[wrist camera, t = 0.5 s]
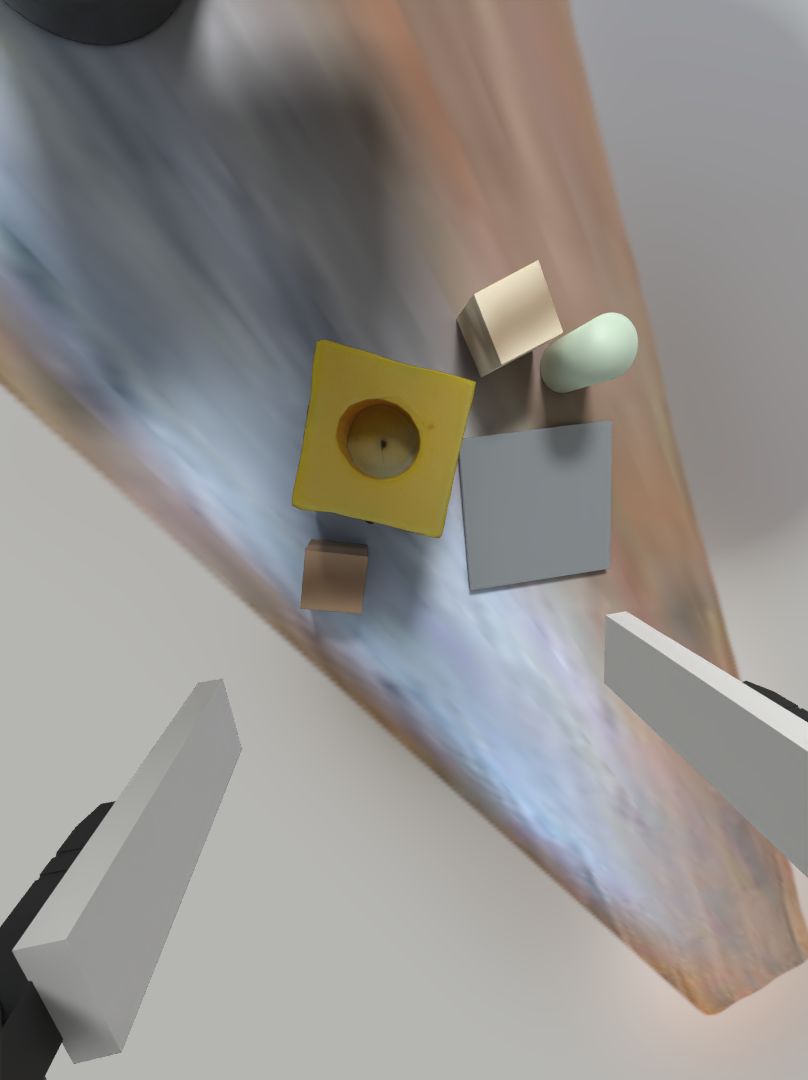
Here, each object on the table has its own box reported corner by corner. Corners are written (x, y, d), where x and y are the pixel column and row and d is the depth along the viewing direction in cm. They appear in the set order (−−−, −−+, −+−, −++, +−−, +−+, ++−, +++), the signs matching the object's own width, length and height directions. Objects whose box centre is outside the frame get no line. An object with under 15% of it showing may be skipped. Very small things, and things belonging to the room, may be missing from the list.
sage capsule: (539, 340, 32) (579, 315, 26) (588, 335, 32) (638, 309, 26) (540, 395, 33) (579, 383, 27) (588, 390, 33) (637, 376, 27)
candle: (420, 517, 34) (444, 543, 24) (308, 494, 32) (286, 513, 23) (447, 402, 32) (485, 381, 22) (329, 372, 30) (315, 335, 21)
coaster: (457, 439, 33) (458, 438, 32) (607, 420, 34) (611, 419, 33) (469, 588, 36) (471, 590, 35) (606, 566, 37) (610, 568, 37)
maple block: (456, 319, 31) (473, 294, 26) (510, 290, 31) (538, 260, 26) (480, 378, 32) (501, 364, 27) (532, 350, 32) (563, 332, 27)
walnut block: (311, 538, 33) (305, 550, 30) (367, 544, 34) (368, 556, 30) (307, 591, 34) (300, 608, 31) (361, 596, 35) (361, 613, 31)
